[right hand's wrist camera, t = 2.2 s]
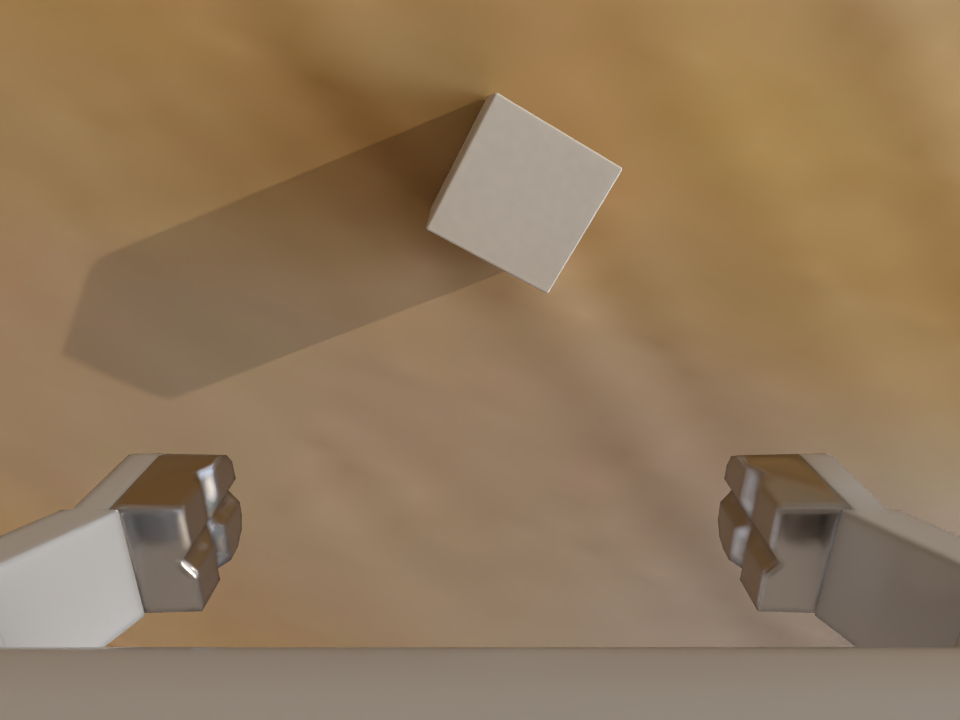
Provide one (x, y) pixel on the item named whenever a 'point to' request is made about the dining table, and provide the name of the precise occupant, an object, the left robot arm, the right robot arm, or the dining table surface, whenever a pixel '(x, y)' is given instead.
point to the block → (520, 193)
